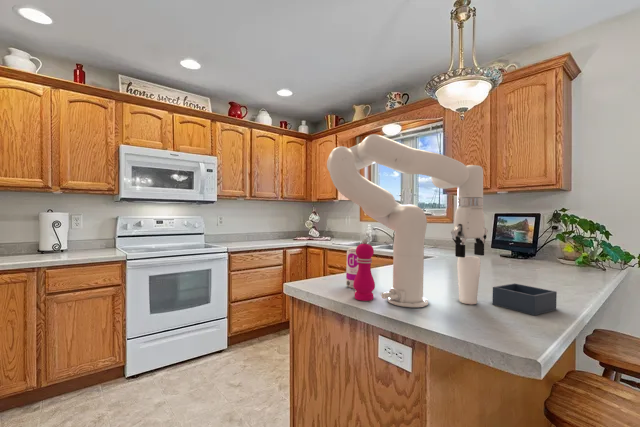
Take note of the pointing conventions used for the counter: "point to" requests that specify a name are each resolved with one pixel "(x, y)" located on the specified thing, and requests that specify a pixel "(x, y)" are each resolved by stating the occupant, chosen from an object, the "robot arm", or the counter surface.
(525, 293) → the tub
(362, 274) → the pepper mill
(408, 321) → the counter surface
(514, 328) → the counter surface
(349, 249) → the supplement can
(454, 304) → the counter surface
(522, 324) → the counter surface
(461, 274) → the drinking glass
